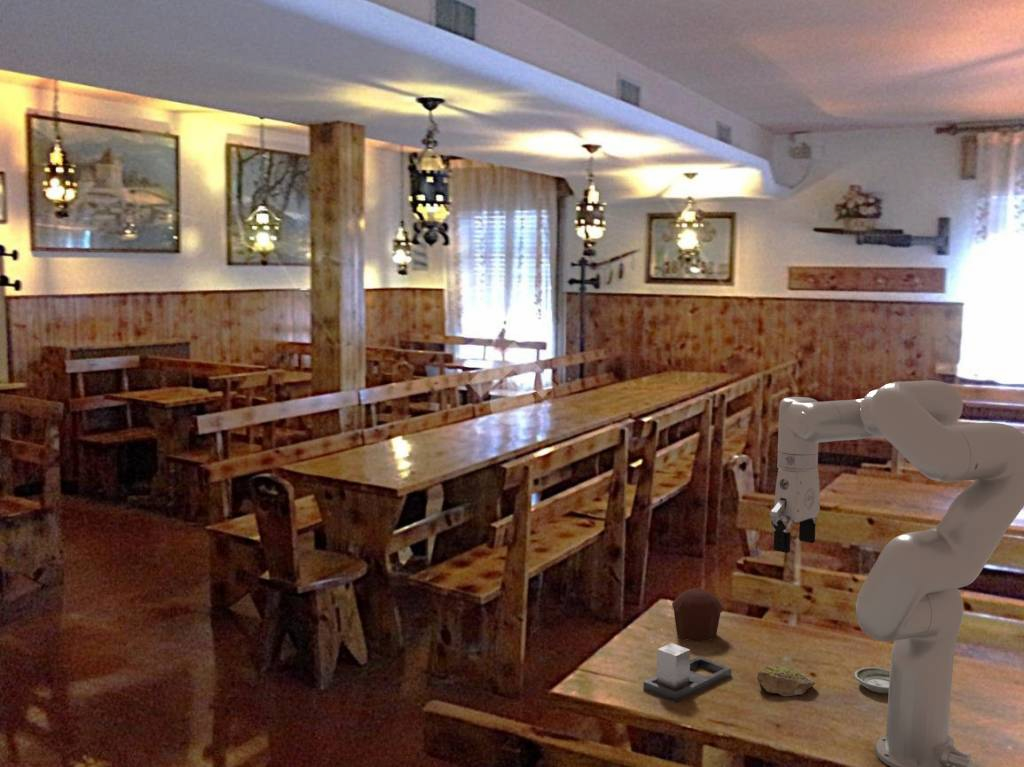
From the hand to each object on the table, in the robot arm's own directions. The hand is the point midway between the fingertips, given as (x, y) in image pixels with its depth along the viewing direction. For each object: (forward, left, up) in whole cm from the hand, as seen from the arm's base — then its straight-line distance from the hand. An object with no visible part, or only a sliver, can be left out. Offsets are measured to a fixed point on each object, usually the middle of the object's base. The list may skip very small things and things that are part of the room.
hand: (794, 546), depth 189 cm
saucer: (-14, -10, -28) cm, 33 cm away
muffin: (+27, -6, -28) cm, 39 cm away
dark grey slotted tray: (+13, +16, -28) cm, 34 cm away
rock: (-1, +3, -28) cm, 28 cm away
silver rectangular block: (+13, +21, -27) cm, 37 cm away
